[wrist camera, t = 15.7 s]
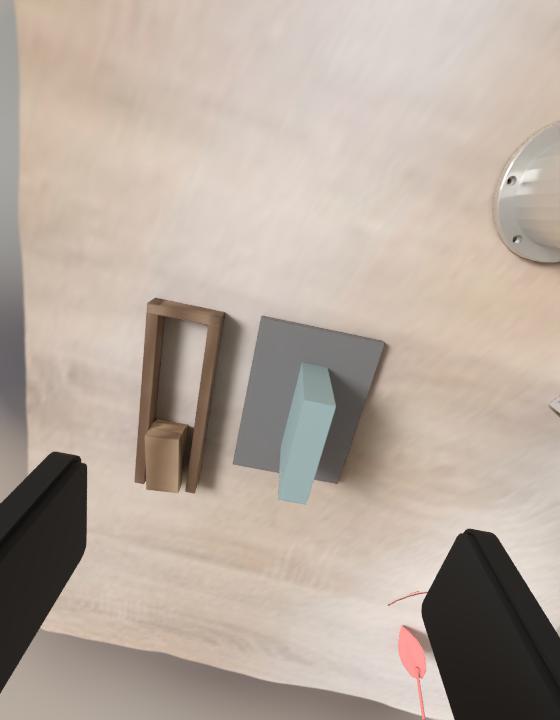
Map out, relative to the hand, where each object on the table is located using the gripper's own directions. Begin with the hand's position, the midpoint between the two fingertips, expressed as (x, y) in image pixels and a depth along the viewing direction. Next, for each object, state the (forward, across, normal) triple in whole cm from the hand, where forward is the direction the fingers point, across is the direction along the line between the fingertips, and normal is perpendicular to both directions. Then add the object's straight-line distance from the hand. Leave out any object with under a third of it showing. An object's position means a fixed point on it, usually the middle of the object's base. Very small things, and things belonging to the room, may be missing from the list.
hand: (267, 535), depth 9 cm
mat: (+33, -5, +14) cm, 36 cm away
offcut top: (+31, +10, +24) cm, 41 cm away
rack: (+33, +10, +16) cm, 38 cm away
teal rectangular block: (+32, -5, +14) cm, 36 cm away
